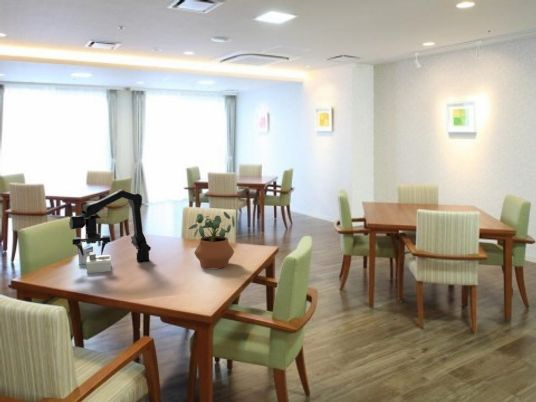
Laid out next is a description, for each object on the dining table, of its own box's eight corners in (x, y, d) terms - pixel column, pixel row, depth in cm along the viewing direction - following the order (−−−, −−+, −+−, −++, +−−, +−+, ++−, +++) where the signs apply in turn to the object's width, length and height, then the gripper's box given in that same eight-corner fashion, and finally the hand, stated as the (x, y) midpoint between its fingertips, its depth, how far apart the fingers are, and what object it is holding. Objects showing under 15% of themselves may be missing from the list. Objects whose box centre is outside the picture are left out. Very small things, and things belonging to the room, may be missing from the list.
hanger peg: (97, 266, 244) (97, 251, 243) (97, 268, 239) (96, 254, 238) (89, 266, 243) (88, 252, 242) (88, 269, 238) (87, 254, 237)
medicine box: (85, 264, 251) (85, 249, 249) (78, 264, 252) (77, 249, 250) (93, 261, 258) (93, 246, 257) (87, 260, 259) (86, 245, 258)
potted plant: (215, 273, 236) (215, 217, 232) (177, 264, 252) (176, 212, 247) (242, 263, 255) (242, 211, 250) (205, 256, 270) (204, 207, 266)
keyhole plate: (110, 265, 250) (110, 254, 249) (111, 271, 239) (110, 260, 238) (87, 267, 246) (87, 256, 245) (86, 273, 235) (86, 262, 234)
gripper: (71, 231, 227) (72, 260, 230) (109, 228, 234) (111, 257, 236) (72, 227, 238) (74, 255, 240) (109, 225, 244) (110, 252, 246)
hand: (92, 255), depth 240 cm, fingers open, 9 cm apart
